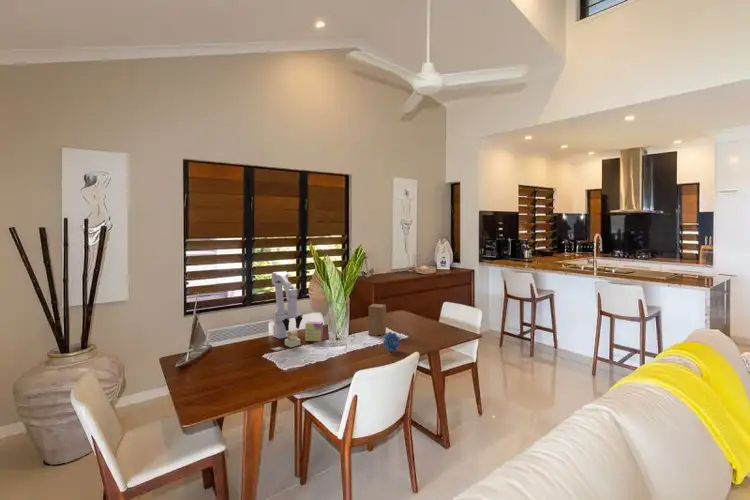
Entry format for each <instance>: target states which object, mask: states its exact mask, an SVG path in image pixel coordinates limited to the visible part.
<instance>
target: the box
mask: <svg viewBox="0 0 750 500" xmlns="http://www.w3.org/2000/svg"><path fill="white" fill-rule="evenodd" d="M304 331H305V333H304V334H305V338H304V339H305V342H306V341H307V342H323V340H324V339H323V338H324V335H323V334H324V333H323V332H324V322H323V321H310V320H309V321H306V322H305V330H304Z"/></svg>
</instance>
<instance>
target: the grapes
mask: <svg viewBox="0 0 750 500" xmlns="http://www.w3.org/2000/svg"><path fill="white" fill-rule="evenodd" d="M383 336H384V340H383V343H382V344H383V345H384V348H385V350H388V351H389V352H391V353H393V352H394V351H397V350H398V347H400V345H401V344H400V343H401V342H400V337H399V336H398V335H397V332H391V331H389V332H388V333H387V334H384V335H383Z"/></svg>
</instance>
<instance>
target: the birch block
mask: <svg viewBox="0 0 750 500" xmlns="http://www.w3.org/2000/svg"><path fill="white" fill-rule="evenodd" d="M287 335H288V337H287V339H288V340H291V341H292V340H297V339H299V331H297V330H294V329H293V330H289V331H287Z"/></svg>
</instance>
